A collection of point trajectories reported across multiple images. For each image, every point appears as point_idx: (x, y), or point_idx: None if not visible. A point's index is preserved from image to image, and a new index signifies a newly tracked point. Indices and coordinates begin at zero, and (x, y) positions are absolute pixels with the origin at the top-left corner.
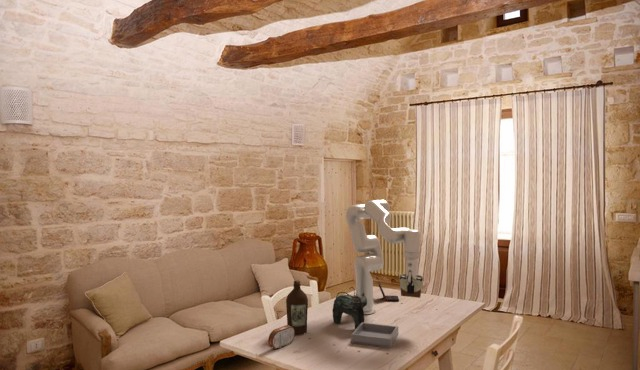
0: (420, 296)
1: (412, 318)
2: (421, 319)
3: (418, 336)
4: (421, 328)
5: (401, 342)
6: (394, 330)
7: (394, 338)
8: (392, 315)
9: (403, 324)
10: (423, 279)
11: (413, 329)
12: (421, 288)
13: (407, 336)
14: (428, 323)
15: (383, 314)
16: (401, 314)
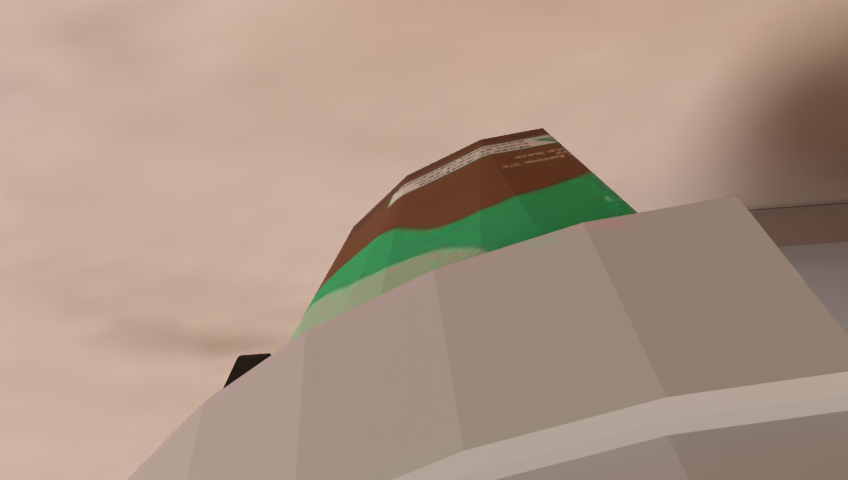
0: (546, 135)
1: (56, 216)
2: (24, 120)
3: (608, 16)
4: (331, 47)
5: (834, 138)
6: (799, 257)
7: (832, 215)
8: (93, 401)
9: (298, 250)
10: (836, 322)
11: (404, 121)
12: (599, 186)
13: (643, 126)
14: (113, 9)
15: (117, 469)
16: (6, 340)
